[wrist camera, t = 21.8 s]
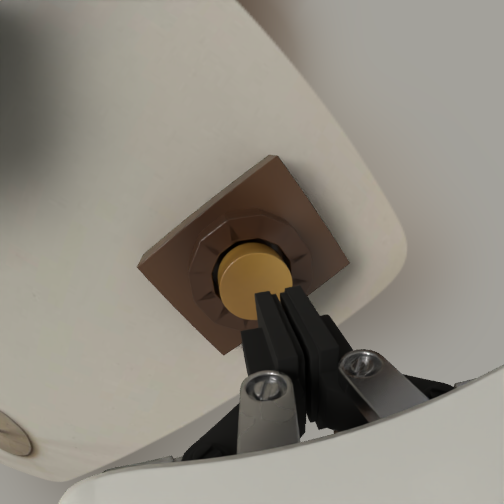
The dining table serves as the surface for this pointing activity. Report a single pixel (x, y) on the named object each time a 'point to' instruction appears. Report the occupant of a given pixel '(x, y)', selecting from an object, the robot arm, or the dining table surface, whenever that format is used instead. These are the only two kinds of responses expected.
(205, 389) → the dining table surface
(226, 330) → the button block
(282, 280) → the button
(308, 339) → the robot arm
